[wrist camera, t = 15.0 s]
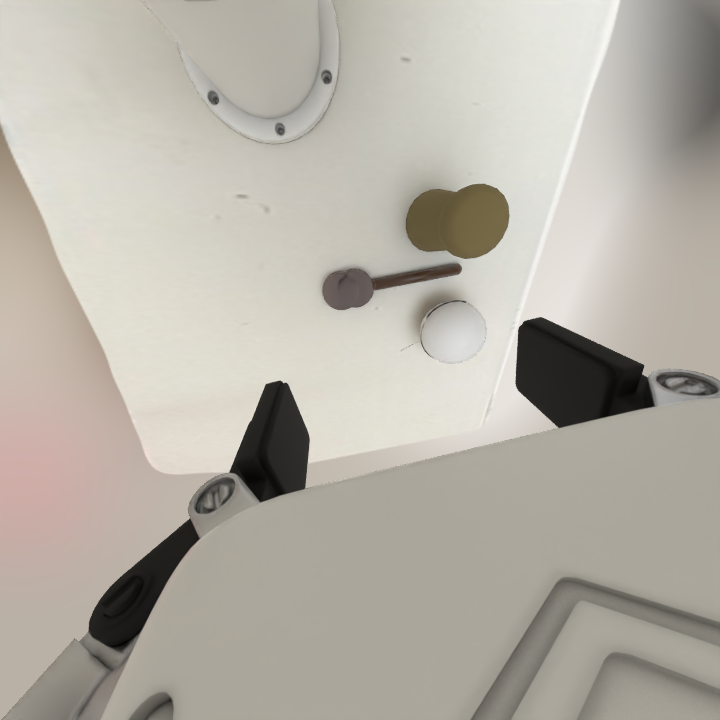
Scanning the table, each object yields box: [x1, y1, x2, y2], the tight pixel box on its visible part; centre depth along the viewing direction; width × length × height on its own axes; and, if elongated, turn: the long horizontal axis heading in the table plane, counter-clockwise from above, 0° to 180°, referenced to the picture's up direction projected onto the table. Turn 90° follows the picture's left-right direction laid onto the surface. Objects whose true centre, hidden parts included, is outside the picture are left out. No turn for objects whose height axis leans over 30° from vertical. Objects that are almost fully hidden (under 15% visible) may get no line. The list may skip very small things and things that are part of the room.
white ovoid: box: [401, 300, 486, 364], centre depth 32 cm, size 10×7×7 cm
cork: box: [406, 184, 509, 259], centre depth 25 cm, size 6×6×11 cm
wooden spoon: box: [323, 264, 462, 310], centre depth 32 cm, size 16×4×1 cm, turn 99°
